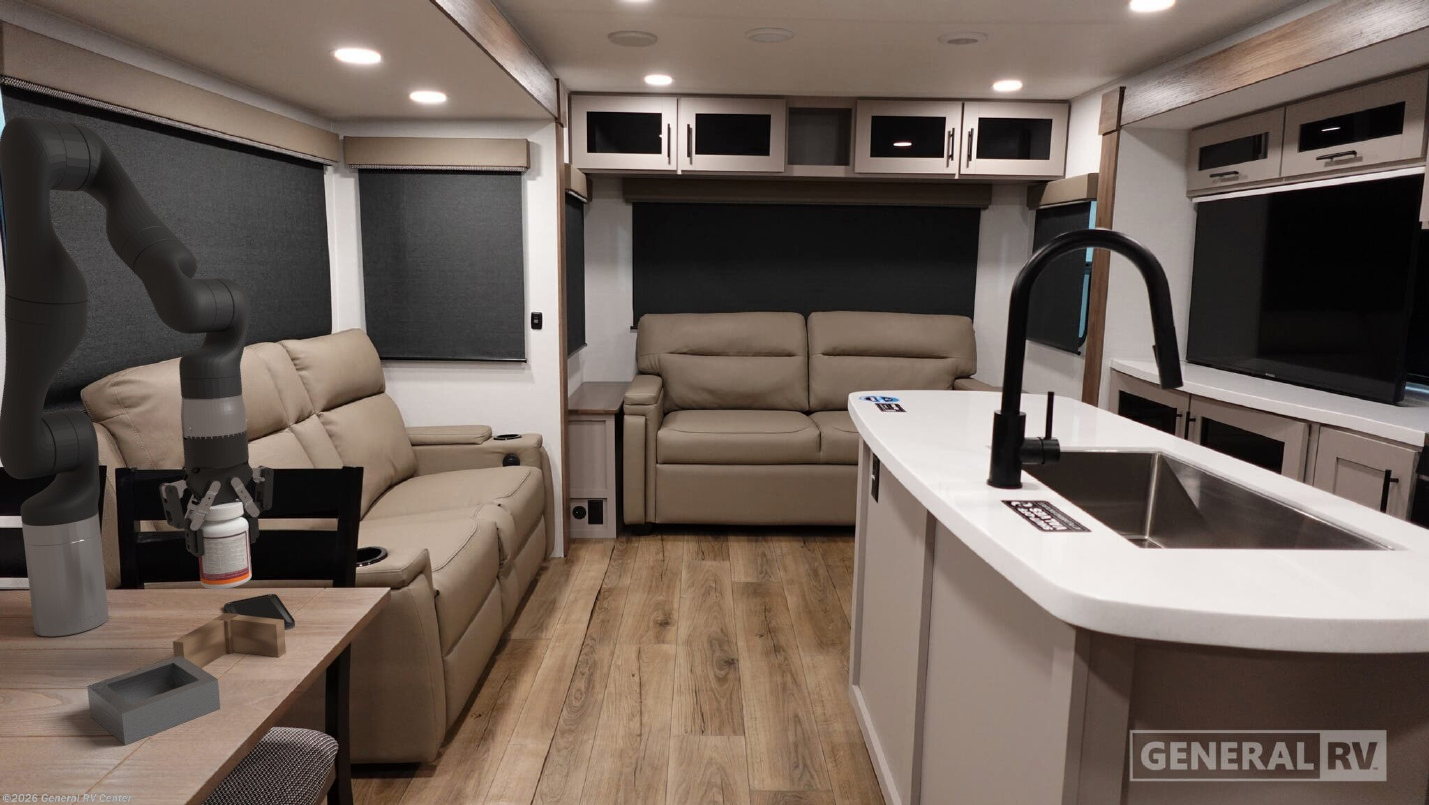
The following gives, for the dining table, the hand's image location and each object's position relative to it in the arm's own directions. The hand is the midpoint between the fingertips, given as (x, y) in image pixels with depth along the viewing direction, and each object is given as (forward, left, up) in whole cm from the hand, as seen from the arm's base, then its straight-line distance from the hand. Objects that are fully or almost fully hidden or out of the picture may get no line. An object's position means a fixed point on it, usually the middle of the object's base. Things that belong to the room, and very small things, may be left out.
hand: (224, 548), depth 116 cm
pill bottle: (0, 0, -5) cm, 5 cm away
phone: (-14, +10, -18) cm, 25 cm away
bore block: (+5, -12, -17) cm, 22 cm away
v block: (-3, +1, -17) cm, 18 cm away
